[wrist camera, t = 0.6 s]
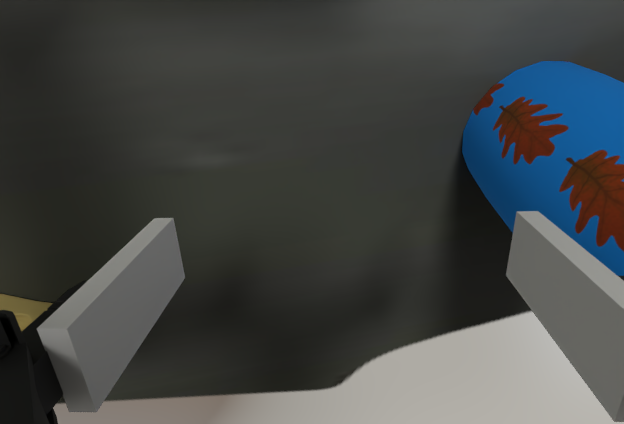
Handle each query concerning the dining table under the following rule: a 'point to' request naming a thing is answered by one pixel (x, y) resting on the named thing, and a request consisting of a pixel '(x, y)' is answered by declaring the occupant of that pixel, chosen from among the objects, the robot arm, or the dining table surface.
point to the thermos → (554, 153)
